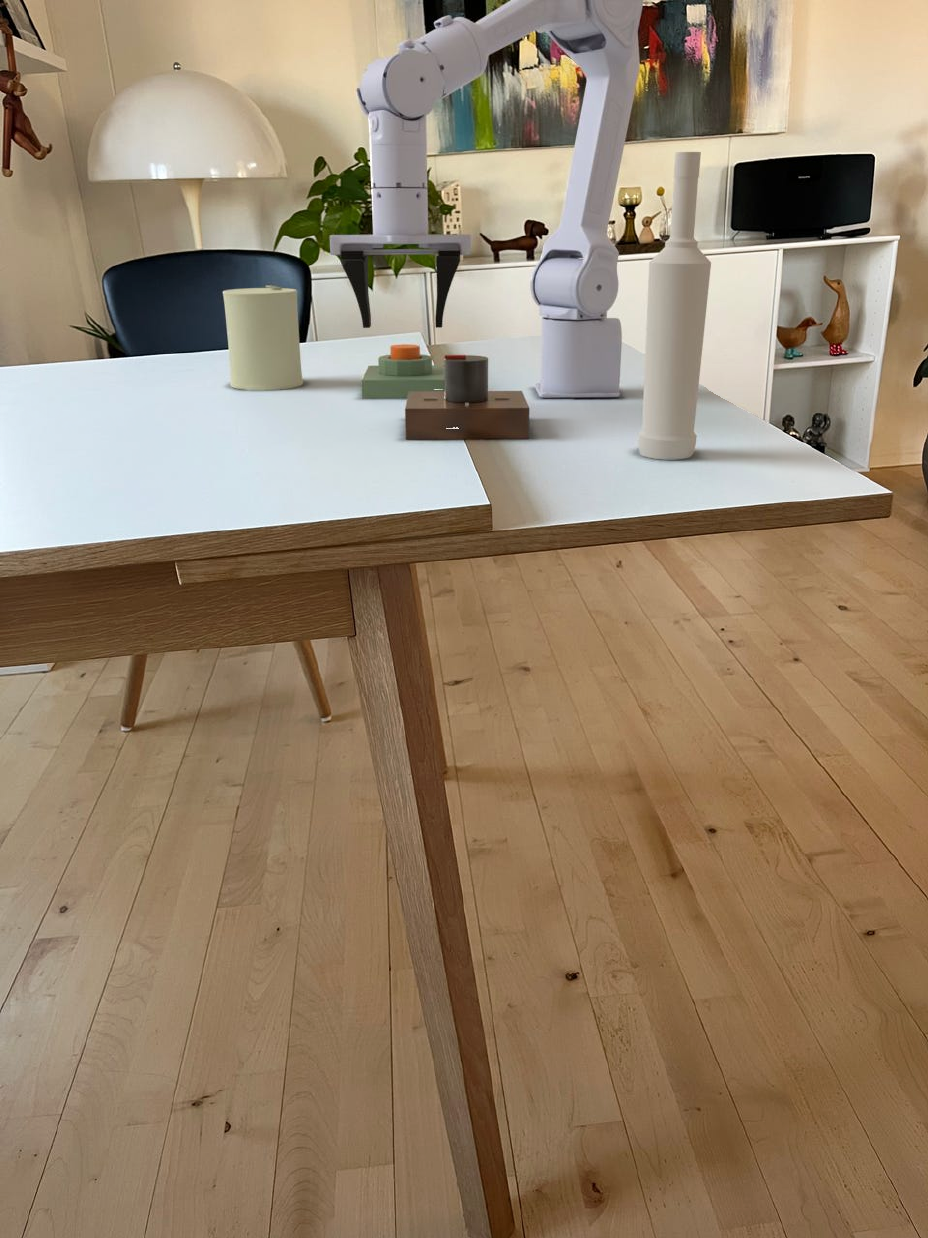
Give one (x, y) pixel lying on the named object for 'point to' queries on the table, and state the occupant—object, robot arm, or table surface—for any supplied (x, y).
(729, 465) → the table surface
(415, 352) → the button
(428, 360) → the green button base
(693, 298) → the bottle
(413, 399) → the dial panel
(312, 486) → the table surface
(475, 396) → the dial
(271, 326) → the can
